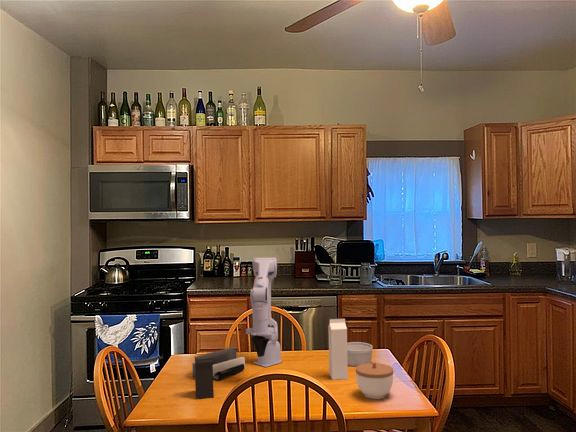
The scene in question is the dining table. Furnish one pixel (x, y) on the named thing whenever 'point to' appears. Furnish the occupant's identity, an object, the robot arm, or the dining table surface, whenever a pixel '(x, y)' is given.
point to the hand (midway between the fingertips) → (260, 356)
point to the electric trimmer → (228, 372)
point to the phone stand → (204, 378)
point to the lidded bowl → (374, 379)
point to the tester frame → (217, 357)
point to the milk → (338, 349)
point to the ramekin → (358, 353)
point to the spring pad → (228, 364)
